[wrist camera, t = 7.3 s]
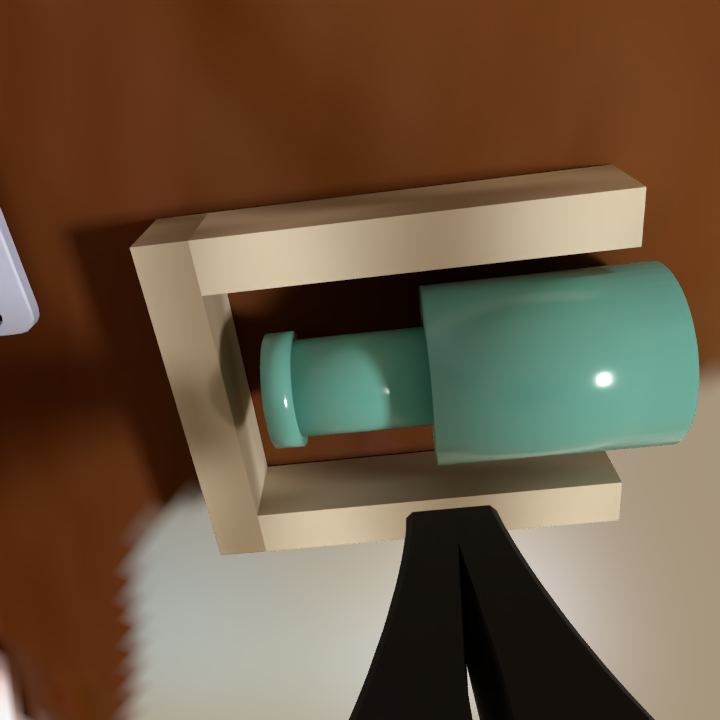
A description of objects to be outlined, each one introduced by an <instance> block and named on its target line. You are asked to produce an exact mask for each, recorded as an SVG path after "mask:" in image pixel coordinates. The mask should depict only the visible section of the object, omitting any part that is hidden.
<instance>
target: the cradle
mask: <svg viewBox="0 0 720 720" xmlns="http://www.w3.org/2000/svg"><path fill="white" fill-rule="evenodd" d="M645 197H646V186H644V185H643V184H641V183H640V182H638V181H637V180H635V179H634V178H632V177H630V176H629V175H627V174H626V173H624V172H623V171H621V170H620V169H618V168H617V167H615V166H614V165H612V164H611V165H603V166H595V167H586V168H578V169H570V170H561V171H553V172H545V173H536V174H528V175H520V176H511V177H503V178H495V179H486V180H478V181H470V182H462V183H453V184H445V185H437V186H428V187H420V188H412V189H403V190H395V191H387V192H378V193H370V194H362V195H353V196H345V197H337V198H328V199H320V200H312V201H303V202H295V203H287V204H278V205H270V206H262V207H253V208H245V209H237V210H228V211H220V212H212V213H203V214H195V215H187V216H178V217H170V218H162V219H156V220H155V221H154V223H153V224H152V225H151V226H150V227H149V228H148V229H147V230H146V231H145V232H144V233H143V234H142V235H141V236H140V237H139V238H138V239H137V240H136V241H135V243H134V244H133V245H132V246H131V247H130V251H131V254H132V257H133V261H134V264H135V268H136V271H137V274H138V278H139V281H140V284H141V288H142V291H143V294H144V298H145V301H146V305H147V308H148V311H149V315H150V318H151V321H152V325H153V328H154V332H155V335H156V338H157V342H158V345H159V348H160V352H161V355H162V358H163V362H164V365H165V369H166V372H167V375H168V379H169V382H170V385H171V389H172V392H173V395H174V399H175V402H176V406H177V409H178V412H179V416H180V419H181V422H182V426H183V429H184V432H185V436H186V439H187V443H188V446H189V449H190V453H191V456H192V459H193V463H194V466H195V470H196V473H197V476H198V480H199V483H200V486H201V490H202V493H203V496H204V500H205V503H206V507H207V510H208V513H209V517H210V520H211V523H212V527H213V530H214V533H215V537H216V540H217V544H218V547H219V550H220V554H221V555H229V554H241V553H252V552H263V551H275V550H285V549H297V548H309V547H320V546H331V545H343V544H354V543H365V542H377V541H387V540H399V539H405V533H406V518H407V517H408V516H409V515H410V514H411V513H412V512H417V511H429V510H440V509H451V508H462V507H473V506H484V505H490V506H492V507H493V508H494V509H496V510H497V512H498V514H499V516H500V518H501V520H502V522H503V524H504V525H505V527H506V529H507V530H512V529H524V528H534V527H546V526H557V525H569V524H580V523H592V522H603V521H614V520H619V512H620V500H621V488H622V482H621V480H620V478H619V476H618V474H617V472H616V471H615V469H614V467H613V465H612V463H611V461H610V459H609V458H608V456H607V454H606V452H605V451H596V452H585V453H574V454H563V455H552V456H541V457H530V458H520V459H509V460H498V461H487V462H476V463H465V464H454V465H443V466H438V465H437V462H436V457H435V452H434V451H427V452H417V453H406V454H396V455H385V456H375V457H365V458H354V459H344V460H333V461H323V462H313V463H302V464H292V465H281V466H271V467H267V463H266V458H265V454H264V450H263V446H262V441H261V437H260V433H259V428H258V424H257V420H256V415H255V411H254V407H253V403H252V398H251V394H250V390H249V385H248V381H247V377H246V372H245V368H244V364H243V360H242V355H241V351H240V347H239V342H238V338H237V334H236V330H235V325H234V321H233V317H232V312H231V308H230V304H229V299H228V295H227V293H233V292H242V291H251V290H260V289H268V288H277V287H286V286H295V285H304V284H313V283H322V282H331V281H340V280H348V279H357V278H366V277H375V276H384V275H393V274H402V273H411V272H420V271H428V270H437V269H446V268H455V267H464V266H473V265H482V264H491V263H500V262H508V261H517V260H526V259H535V258H544V257H553V256H562V255H571V254H580V253H588V252H597V251H606V250H615V249H624V248H633V247H641V245H642V233H643V221H644V209H645Z"/></svg>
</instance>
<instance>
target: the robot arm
mask: <svg viewBox="0 0 720 720" xmlns="http://www.w3.org/2000/svg"><path fill="white" fill-rule="evenodd" d="M0 315H1V316H2V321H0V336H5V335H14V334H21V333H24V332H27V331H28V330H29V329H30V328H31V327H32V326H33V325H34V324H35V323H36V322H37V321H38V318H39V309H38V305H37V303H36V300H35V297H34V295H33V292H32V290H31V287H30V284H29V282H28V279H27V277H26V274H25V271H24V269H23V266H22V263H21V261H20V258H19V256H18V253H17V250H16V248H15V245H14V242H13V240H12V237H11V235H10V232H9V229H8V227H7V224H6V222H5V219H4V216H3V214H2V211H1V208H0ZM466 664H467V665H466ZM467 668H468V672H469V676H470V681H471V685H472V689H473V693H474V697H475V701H476V705H477V710H478V714H479V718H480V720H654V719H653V718H652V716H651V715H649V713H648V712H647V711H646V710H645V709H644V708H643V707H642V706H641V705H640V704H639V703H638V702H637V701H636V699H635V698H634V697H633V696H632V695H631V694H630V693H629V692H628V691H627V690H626V689H625V687H624V686H623V685H622V684H621V683H620V682H619V681H618V680H617V678H616V677H615V676H614V675H613V674H612V673H611V672H610V670H609V669H608V668H607V667H606V666H605V665H604V664H603V662H602V661H601V660H600V659H599V657H598V656H597V655H596V654H595V653H594V652H593V650H592V649H591V648H590V647H589V645H588V644H587V643H586V642H585V641H584V639H583V638H582V637H581V636H580V634H579V633H578V632H577V631H576V629H575V628H574V627H573V626H572V624H571V623H570V622H569V620H568V619H567V618H566V617H565V615H564V614H563V613H562V611H561V610H560V608H559V607H558V606H557V604H556V603H555V602H554V600H553V599H552V598H551V596H550V595H549V593H548V592H547V591H546V589H545V588H544V587H543V585H542V584H541V582H540V581H539V580H538V578H537V577H536V575H535V574H534V572H533V571H532V569H531V568H530V566H529V565H528V563H527V562H526V560H525V559H524V557H523V556H522V554H521V553H520V551H519V549H518V548H517V546H516V545H515V543H514V541H513V540H512V538H511V536H510V535H509V533H508V531H507V529H506V527H505V525H504V524H503V522H502V520H501V518H500V516H499V514H498V512H497V510H496V509H494V508H493V507H492V506H490V505H484V506H473V507H462V508H451V509H440V510H429V511H417V512H412V513H411V514H410V515H409V516H408V517H407V518H406V533H405V543H404V549H403V555H402V561H401V565H400V570H399V575H398V579H397V583H396V587H395V591H394V594H393V598H392V601H391V605H390V609H389V612H388V616H387V619H386V622H385V626H384V629H383V632H382V635H381V638H380V640H379V643H378V646H377V649H376V652H375V655H374V657H373V660H372V663H371V666H370V669H369V671H368V674H367V677H366V679H365V682H364V685H363V687H362V690H361V692H360V695H359V697H358V700H357V702H356V704H355V707H354V709H353V712H352V714H351V716H350V718H349V720H472V714H471V709H470V702H469V696H468V682H467Z"/></svg>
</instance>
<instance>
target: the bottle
mask: <svg viewBox="0 0 720 720" xmlns="http://www.w3.org/2000/svg"><path fill="white" fill-rule="evenodd" d="M419 312H420V327H413V328H403V329H393V330H384V331H374V332H364V333H355V334H345V335H335V336H326V337H316V338H307V339H299V338H298V336H297V334H296V332H295V331H288V332H278V333H269V334H265V336H264V338H263V341H262V346H261V355H260V380H261V393H262V402H263V409H264V415H265V420H266V425H267V429H268V433H269V436H270V439H271V441H272V443H273V445H274V447H275V448H277V449H279V448H290V447H301V446H305V445H306V444H307V441H308V437H310V436H321V435H331V434H342V433H352V432H363V431H373V430H384V429H395V428H405V427H416V426H426V425H431V432H432V439H433V446H434V452H435V457H436V462H437V465H438V466H443V465H454V464H465V463H476V462H487V461H498V460H509V459H520V458H530V457H541V456H552V455H563V454H574V453H585V452H596V451H606V450H617V449H629V448H639V447H650V446H661V445H671V444H676V443H678V442H680V441H681V440H682V439H683V438H684V437H685V436H686V434H687V433H688V431H689V429H690V427H691V424H692V422H693V418H694V415H695V411H696V406H697V400H698V392H699V359H698V348H697V341H696V334H695V329H694V324H693V320H692V317H691V313H690V309H689V307H688V304H687V301H686V298H685V296H684V293H683V291H682V289H681V287H680V285H679V283H678V281H677V280H676V278H675V277H674V275H673V274H672V272H671V271H670V270H669V269H668V268H667V267H666V266H664V265H663V264H662V263H659V262H657V261H645V262H636V263H626V264H617V265H608V266H598V267H589V268H580V269H570V270H561V271H552V272H542V273H533V274H524V275H514V276H505V277H496V278H486V279H477V280H468V281H459V282H449V283H440V284H431V285H421V286H419Z"/></svg>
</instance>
